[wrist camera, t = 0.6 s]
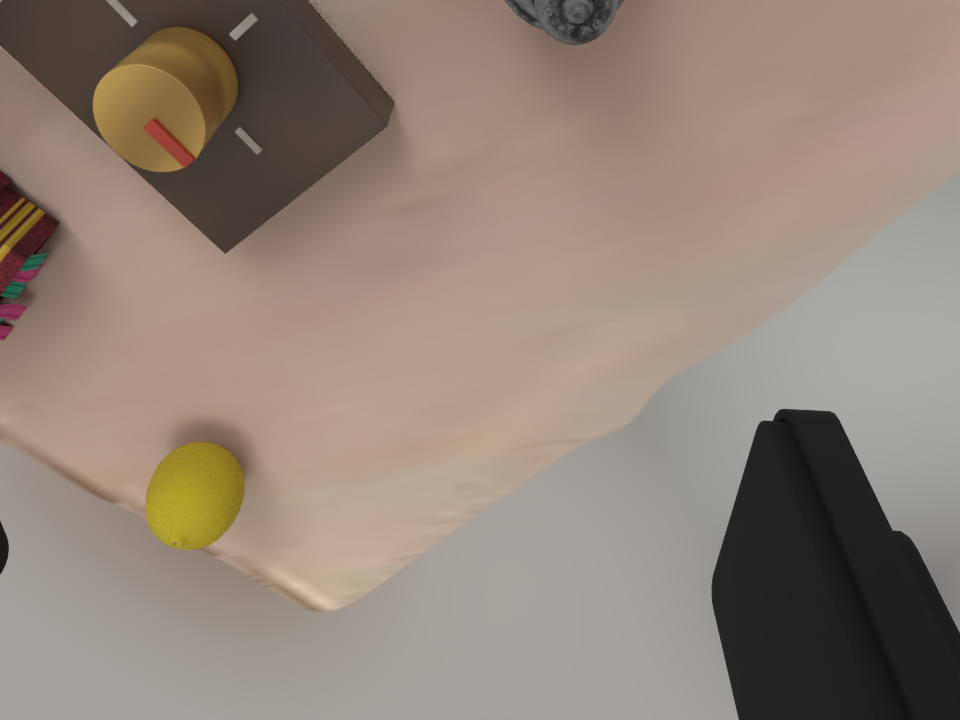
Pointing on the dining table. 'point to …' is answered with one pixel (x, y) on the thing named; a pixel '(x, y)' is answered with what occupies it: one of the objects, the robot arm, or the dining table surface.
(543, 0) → the grey textured elongated piece
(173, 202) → the lock plate
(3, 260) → the decorative book
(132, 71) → the lock knob
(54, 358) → the dining table surface
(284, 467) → the dining table surface
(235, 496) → the lemon
